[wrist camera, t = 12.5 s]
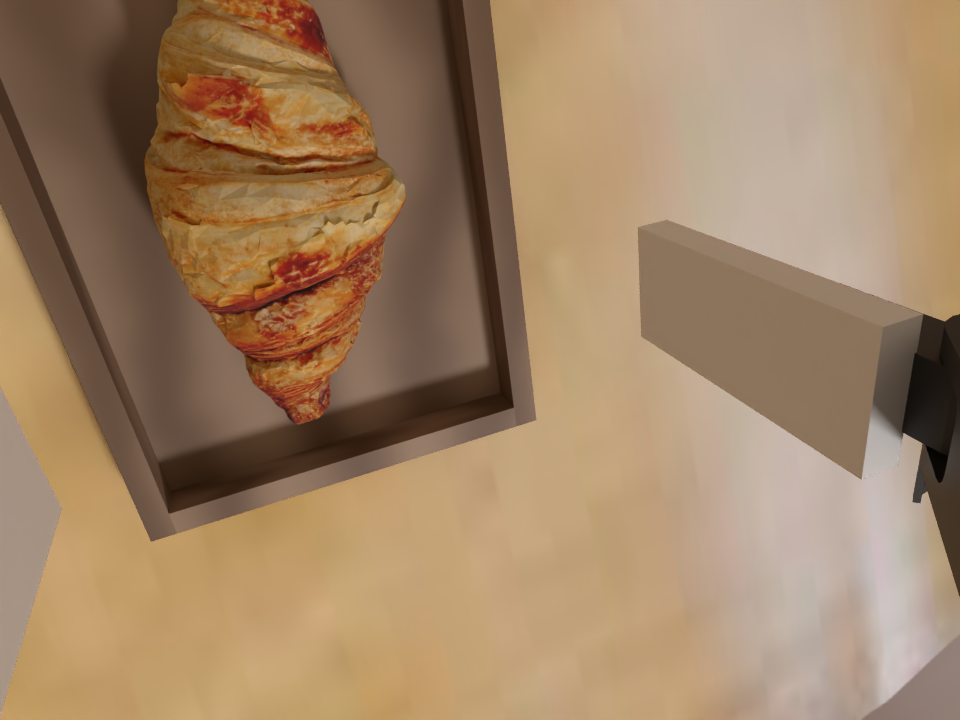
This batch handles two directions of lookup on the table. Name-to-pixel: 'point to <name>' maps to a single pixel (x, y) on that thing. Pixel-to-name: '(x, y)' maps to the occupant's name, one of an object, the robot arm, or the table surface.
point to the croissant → (269, 190)
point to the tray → (188, 325)
